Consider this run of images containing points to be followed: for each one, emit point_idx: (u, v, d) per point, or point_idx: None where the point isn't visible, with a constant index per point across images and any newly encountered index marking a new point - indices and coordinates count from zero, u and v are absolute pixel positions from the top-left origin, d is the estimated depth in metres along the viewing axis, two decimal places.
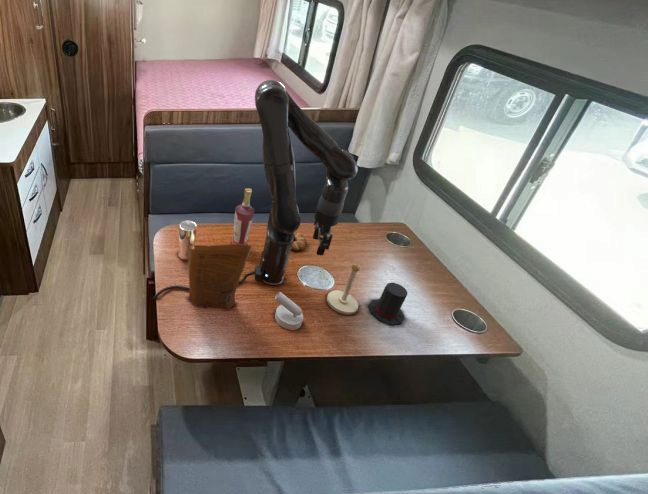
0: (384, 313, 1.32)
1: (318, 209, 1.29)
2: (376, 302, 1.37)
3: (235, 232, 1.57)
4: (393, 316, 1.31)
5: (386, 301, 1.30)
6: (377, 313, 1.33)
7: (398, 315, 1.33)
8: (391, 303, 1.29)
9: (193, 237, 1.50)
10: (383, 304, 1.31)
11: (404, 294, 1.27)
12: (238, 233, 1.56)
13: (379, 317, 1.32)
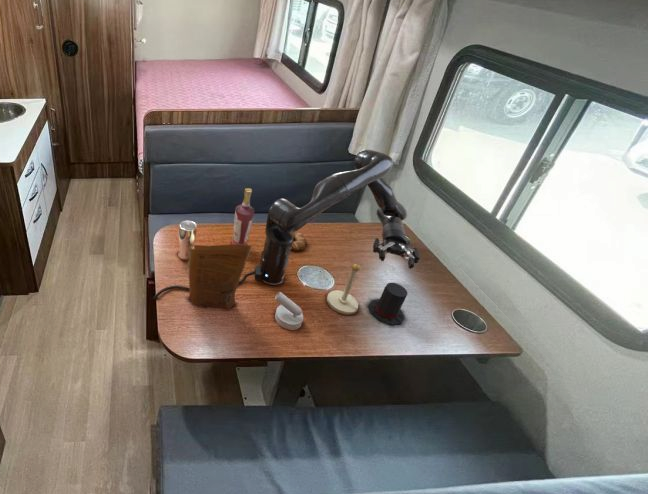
0: (384, 313, 1.32)
1: (400, 230, 1.46)
2: (376, 302, 1.37)
3: (235, 232, 1.57)
4: (393, 316, 1.31)
5: (386, 301, 1.30)
6: (377, 313, 1.33)
7: (398, 315, 1.33)
8: (391, 303, 1.29)
9: (193, 237, 1.50)
10: (383, 304, 1.31)
11: (404, 294, 1.27)
12: (238, 233, 1.56)
13: (379, 317, 1.32)
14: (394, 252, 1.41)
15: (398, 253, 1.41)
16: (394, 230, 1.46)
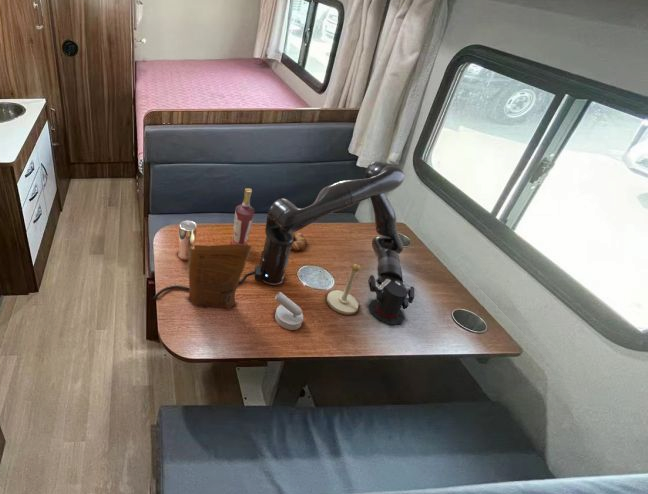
0: (384, 313, 1.32)
1: (396, 265, 1.40)
2: (376, 302, 1.37)
3: (235, 232, 1.57)
4: (393, 316, 1.31)
5: (386, 301, 1.30)
6: (377, 313, 1.33)
7: (398, 315, 1.33)
8: (391, 303, 1.29)
9: (193, 237, 1.50)
10: (383, 304, 1.31)
11: (404, 294, 1.27)
12: (238, 233, 1.56)
13: (379, 317, 1.32)
14: None
15: None
16: (390, 266, 1.40)
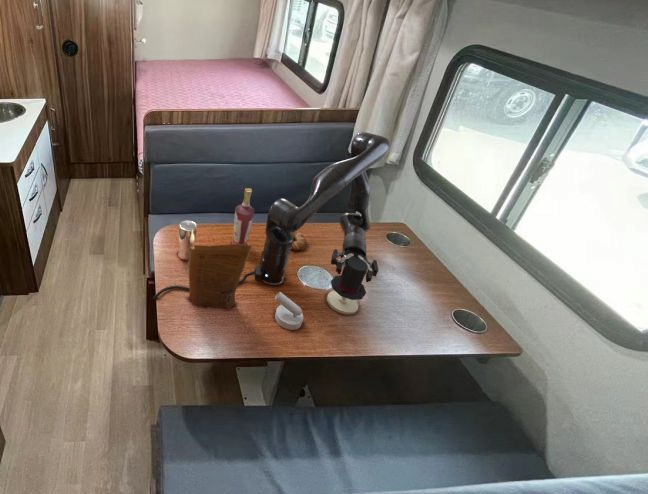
0: (345, 288, 1.31)
1: (360, 240, 1.39)
2: (339, 278, 1.37)
3: (235, 232, 1.57)
4: (354, 291, 1.30)
5: (347, 276, 1.29)
6: (339, 288, 1.33)
7: (360, 290, 1.32)
8: (351, 278, 1.28)
9: (193, 237, 1.50)
10: (344, 278, 1.30)
11: (364, 268, 1.26)
12: (238, 233, 1.56)
13: (340, 292, 1.31)
14: None
15: None
16: (354, 241, 1.39)
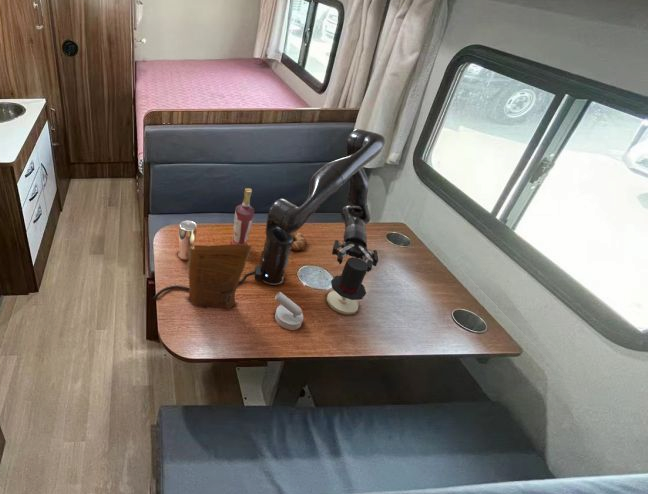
0: (345, 288, 1.31)
1: (361, 231, 1.43)
2: (339, 278, 1.37)
3: (235, 232, 1.57)
4: (354, 291, 1.30)
5: (347, 276, 1.29)
6: (339, 288, 1.32)
7: (360, 290, 1.32)
8: (351, 278, 1.28)
9: (193, 237, 1.50)
10: (344, 278, 1.30)
11: (364, 268, 1.26)
12: (238, 233, 1.56)
13: (340, 292, 1.31)
14: (353, 254, 1.37)
15: (357, 255, 1.37)
16: (354, 232, 1.42)
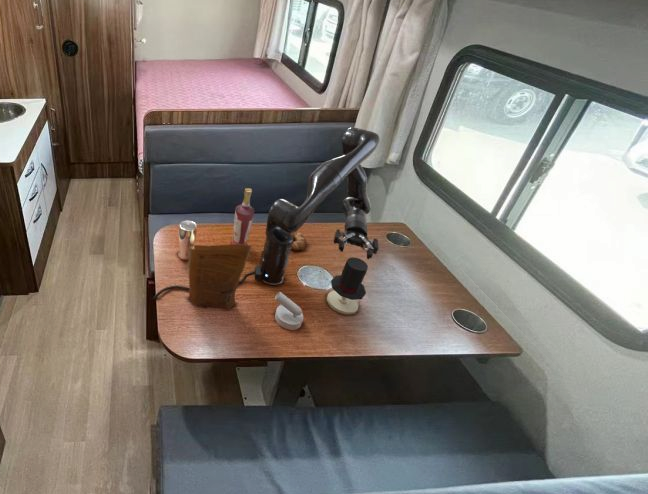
0: (345, 287, 1.31)
1: (361, 221, 1.47)
2: (339, 278, 1.37)
3: (235, 232, 1.57)
4: (354, 291, 1.30)
5: (347, 276, 1.29)
6: (339, 288, 1.33)
7: (360, 290, 1.32)
8: (351, 278, 1.28)
9: (193, 237, 1.50)
10: (344, 278, 1.30)
11: (364, 268, 1.26)
12: (238, 233, 1.56)
13: (340, 292, 1.31)
14: (354, 243, 1.41)
15: (358, 244, 1.41)
16: (355, 221, 1.46)
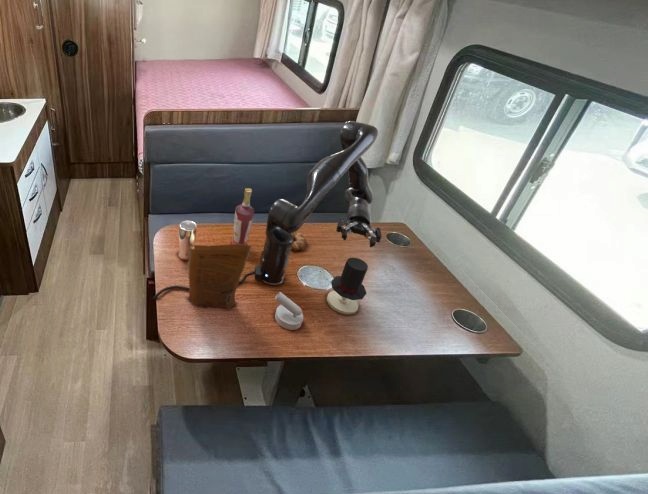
0: (345, 288, 1.31)
1: (364, 210, 1.46)
2: (339, 278, 1.37)
3: (235, 232, 1.57)
4: (354, 291, 1.30)
5: (347, 276, 1.29)
6: (339, 289, 1.32)
7: (360, 290, 1.32)
8: (352, 278, 1.28)
9: (193, 237, 1.50)
10: (344, 279, 1.30)
11: (364, 268, 1.26)
12: (238, 233, 1.56)
13: (341, 292, 1.31)
14: (357, 231, 1.41)
15: (361, 232, 1.41)
16: (358, 210, 1.46)
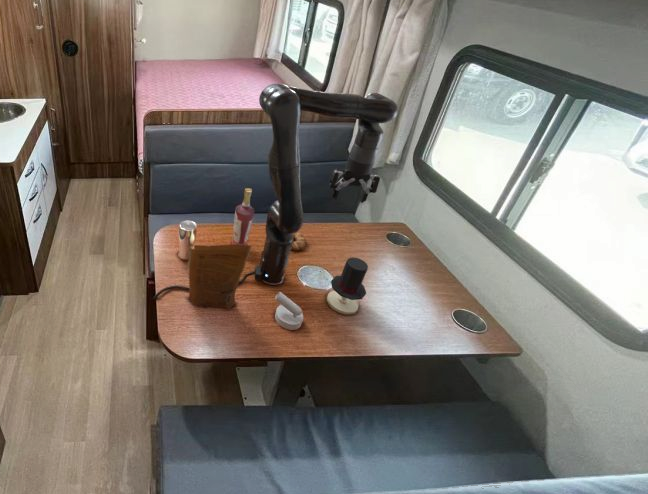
0: (345, 288, 1.31)
1: (368, 163, 1.21)
2: (339, 278, 1.37)
3: (235, 232, 1.57)
4: (354, 291, 1.30)
5: (347, 276, 1.29)
6: (339, 288, 1.32)
7: (360, 290, 1.32)
8: (351, 278, 1.28)
9: (193, 237, 1.50)
10: (344, 278, 1.30)
11: (364, 268, 1.26)
12: (238, 233, 1.56)
13: (340, 292, 1.31)
14: None
15: None
16: (360, 166, 1.22)
